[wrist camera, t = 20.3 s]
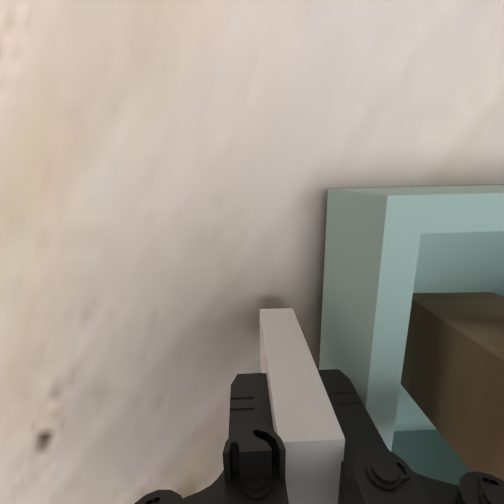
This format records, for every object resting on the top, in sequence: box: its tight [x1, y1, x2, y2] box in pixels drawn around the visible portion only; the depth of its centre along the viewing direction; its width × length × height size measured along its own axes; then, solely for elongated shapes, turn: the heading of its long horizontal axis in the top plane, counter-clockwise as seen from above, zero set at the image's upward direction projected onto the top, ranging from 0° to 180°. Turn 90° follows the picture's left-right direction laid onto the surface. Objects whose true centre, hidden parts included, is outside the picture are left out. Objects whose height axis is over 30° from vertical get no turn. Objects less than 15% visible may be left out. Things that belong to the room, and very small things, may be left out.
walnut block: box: [400, 292, 504, 481], centre depth 10 cm, size 4×4×6 cm
